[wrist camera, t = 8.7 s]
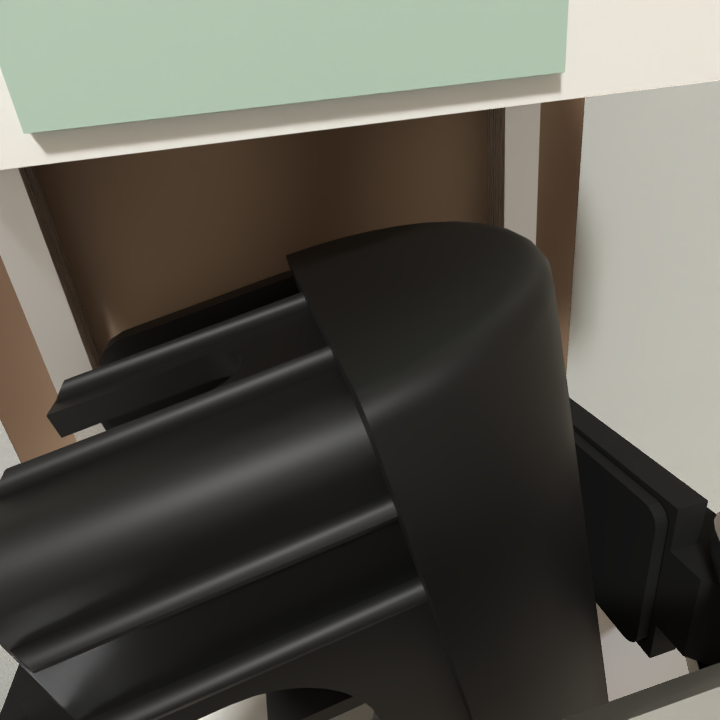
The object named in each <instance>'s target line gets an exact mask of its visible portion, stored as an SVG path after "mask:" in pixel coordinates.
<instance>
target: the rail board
mask: <svg viewBox="0 0 720 720" xmlns="http://www.w3.org/2000/svg"><path fill="white" fill-rule="evenodd" d="M584 102H585V97H583V98H575V99H567V100H559V101H551V102H543V103H541V108H540V136H539V165H538V194H537V223H536V247H537V248H538V249H539V250H540V251H541V252H542V253H543V254H544V256H545V257H546V258H547V259H548V261H549V264H550V267H551V272H552V277H553V282H554V286H555V294H556V302H557V309H558V317H559V325H560V332H561V340H562V348H563V356H564V363H565V371H566V370H567V355H568V341H569V326H570V311H571V296H572V281H573V266H574V251H575V236H576V221H577V207H578V192H579V177H580V162H581V147H582V132H583V117H584ZM33 167H34V170H35V173H36V176H37V178H38V181H39V184H40V187H41V190H42V192H43V195H44V198H45V201H46V204H47V206H48V209H49V212H50V215H51V218H52V220H53V223H54V226H55V229H56V232H57V234H58V237H59V240H60V243H61V246H62V248H63V251H64V254H65V257H66V260H67V262H68V265H69V268H70V271H71V274H72V276H73V279H74V282H75V285H76V288H77V290H78V293H79V296H80V299H81V302H82V304H83V307H84V310H85V313H86V316H87V318H88V321H89V324H90V327H91V330H92V332H93V335H94V338H95V341H96V344H97V346H98V349H99V352H100V355H101V357H102V354H103V352H104V350H105V348H106V346H107V344H108V342H109V341H110V340H111V339H112V338H113V337H115V336H116V335H118V334H119V333H121V332H122V331H124V330H127V329H130V328H132V327H135V326H138V325H141V324H143V323H146V322H149V321H152V320H154V319H157V318H160V317H162V316H165V315H168V314H171V313H173V312H176V311H179V310H182V309H184V308H187V307H190V306H192V305H195V304H198V303H201V302H203V301H206V300H209V299H212V298H214V297H217V296H220V295H222V294H225V293H228V292H231V291H233V290H236V289H239V288H242V287H244V286H247V285H250V284H253V283H255V282H258V281H261V280H263V279H266V278H269V277H272V276H274V275H277V274H280V273H283V272H286V271H290V270H291V269H290V267H289V264H288V261H287V258H286V255H288V254H291V253H294V252H297V251H300V250H303V249H306V248H309V247H312V246H315V245H318V244H322V243H325V242H329V241H332V240H336V239H339V238H343V237H347V236H351V235H355V234H359V233H364V232H368V231H372V230H378V229H383V228H389V227H394V226H400V225H408V224H417V223H426V222H447V221H459V222H474V223H484V224H488V180H487V110H479V111H471V112H462V113H454V114H446V115H438V116H430V117H422V118H414V119H406V120H398V121H390V122H382V123H374V124H366V125H358V126H350V127H342V128H334V129H326V130H318V131H310V132H302V133H294V134H285V135H277V136H269V137H261V138H253V139H245V140H237V141H229V142H221V143H213V144H205V145H197V146H189V147H181V148H173V149H165V150H157V151H149V152H141V153H133V154H125V155H117V156H109V157H100V158H92V159H84V160H76V161H68V162H60V163H52V164H44V165H36V166H33ZM57 396H58V394H57V392H56V389H55V387H54V385H53V382H52V380H51V377H50V375H49V372H48V370H47V368H46V365H45V363H44V360H43V358H42V355H41V353H40V351H39V348H38V346H37V343H36V341H35V338H34V336H33V334H32V331H31V329H30V326H29V324H28V321H27V319H26V316H25V314H24V312H23V309H22V307H21V304H20V302H19V299H18V297H17V295H16V292H15V290H14V287H13V285H12V282H11V280H10V278H9V275H8V273H7V270H6V268H5V265H4V263H3V261H2V258H1V256H0V420H1V422H2V424H3V426H4V428H5V430H6V432H7V434H8V436H9V439H10V441H11V443H12V445H13V447H14V449H15V451H16V453H17V455H18V457H19V460H20V462H21V463H23V462H26V461H28V460H31V459H33V458H36V457H39V456H41V455H44V454H47V453H49V452H52V451H54V450H57V449H60V448H62V447H65V446H67V445H70V444H73V443H75V442H77V441H76V438H75V436H74V433H73V434H71V435H68V436H65V437H63V438H61V436H60V435H59V434H58V432H57V431H56V429H55V428H54V426H53V425H52V424H51V422H50V421H49V419H48V418H47V416H46V415H47V413H48V412H49V410H50V409H51V407H52V406H53V404H54V403H55V401H56V399H57Z"/></svg>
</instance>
